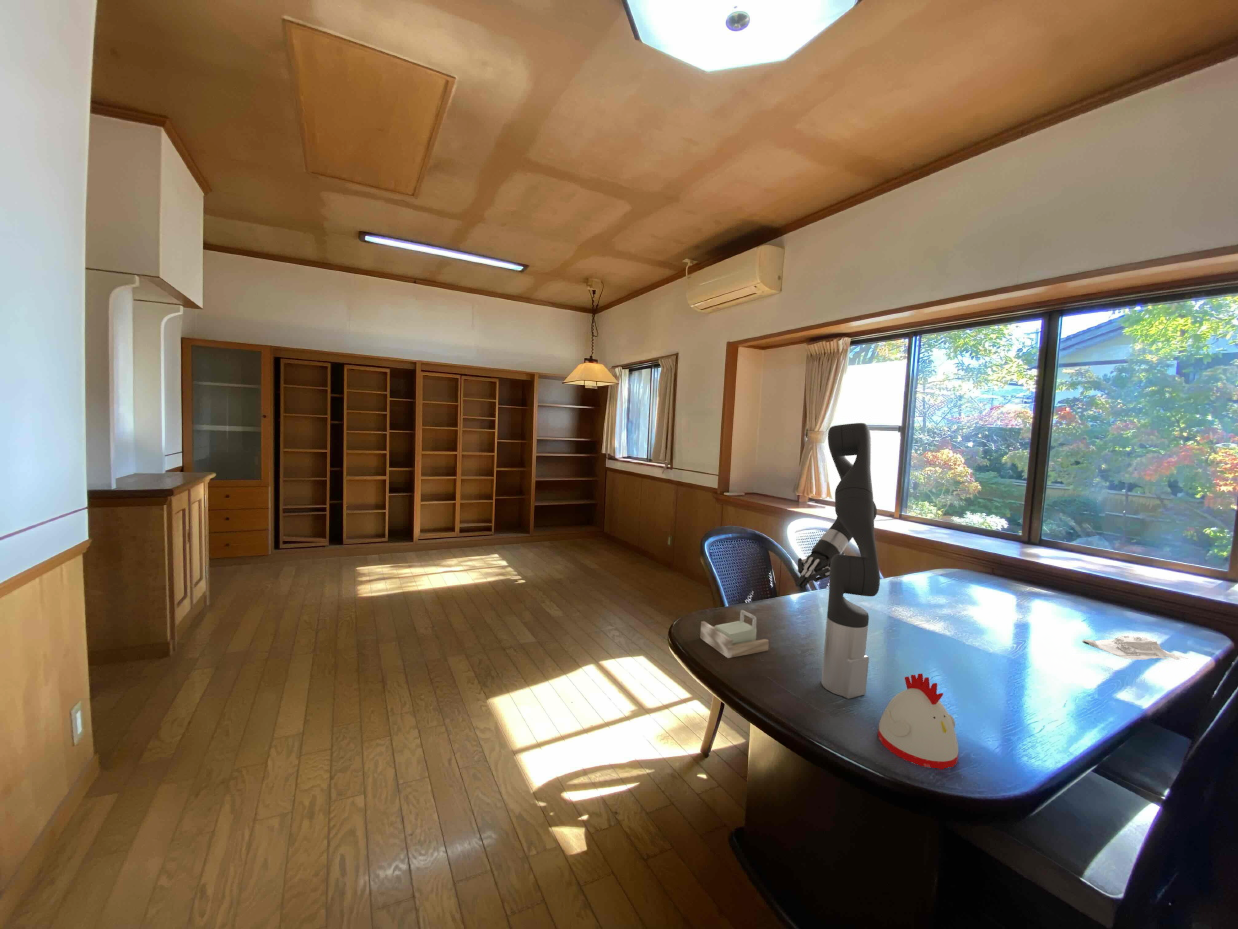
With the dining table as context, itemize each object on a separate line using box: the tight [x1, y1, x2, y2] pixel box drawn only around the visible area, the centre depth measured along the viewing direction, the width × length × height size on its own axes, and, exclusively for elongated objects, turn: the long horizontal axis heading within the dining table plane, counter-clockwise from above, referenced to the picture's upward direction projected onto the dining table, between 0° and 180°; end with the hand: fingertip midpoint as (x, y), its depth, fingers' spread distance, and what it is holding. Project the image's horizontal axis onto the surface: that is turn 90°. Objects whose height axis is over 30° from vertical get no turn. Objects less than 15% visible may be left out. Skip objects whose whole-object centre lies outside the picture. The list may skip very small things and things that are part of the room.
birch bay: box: [699, 620, 770, 659], centre depth 143 cm, size 13×14×5 cm
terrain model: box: [1082, 635, 1188, 661], centre depth 154 cm, size 17×23×5 cm
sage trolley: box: [714, 609, 758, 645], centre depth 141 cm, size 8×10×10 cm
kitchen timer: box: [877, 673, 959, 770], centre depth 99 cm, size 14×14×15 cm
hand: (798, 587), depth 152 cm, fingers closed
